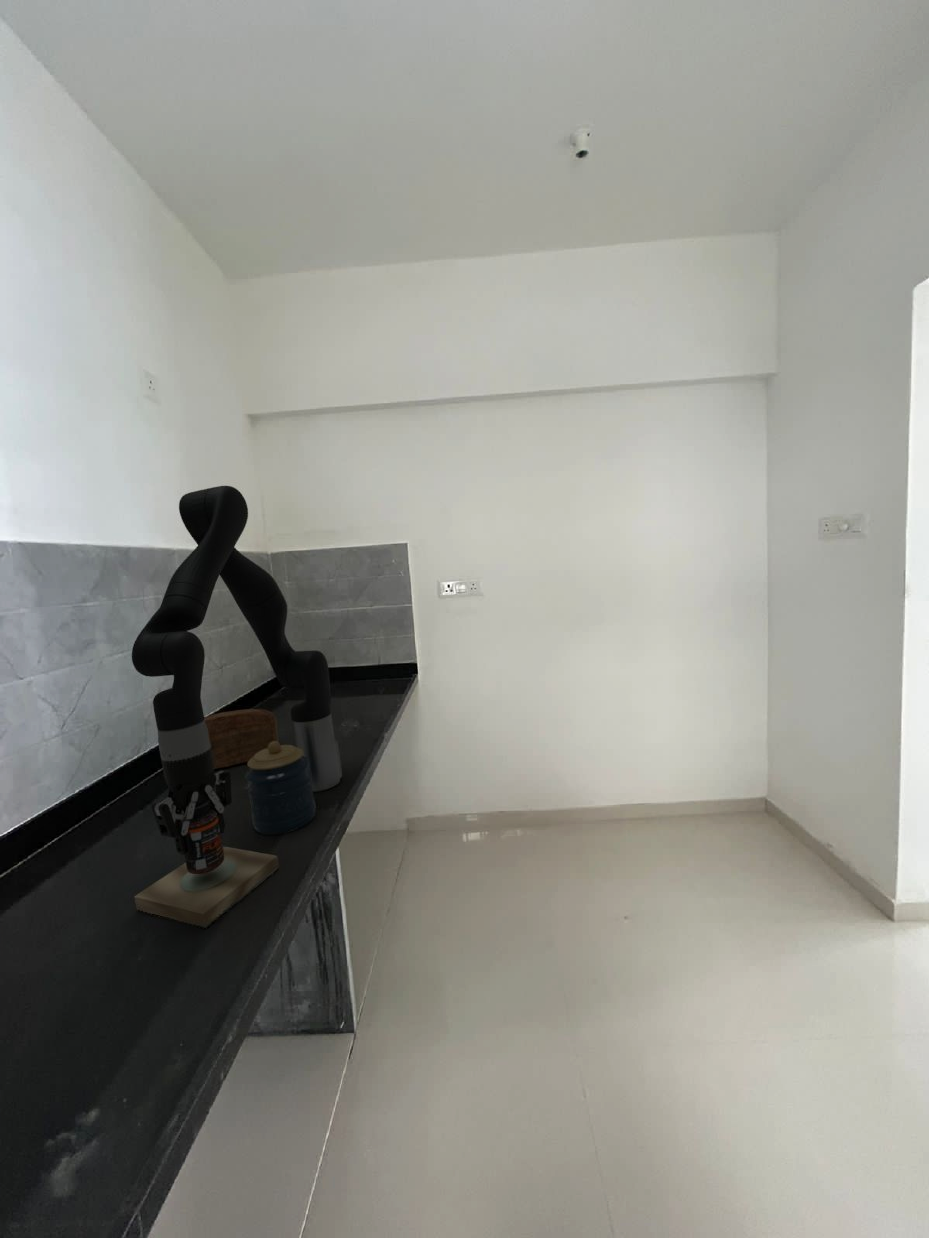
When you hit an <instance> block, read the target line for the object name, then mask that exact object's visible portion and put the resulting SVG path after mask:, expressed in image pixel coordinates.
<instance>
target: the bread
mask: <svg viewBox="0 0 929 1238" xmlns="http://www.w3.org/2000/svg"><path fill="white" fill-rule="evenodd" d="M204 720H205V723H206V726H207V729H208V733H209V738H210V744H211V750H212V756H213V761H214V767H215V769H222V768H225V767H227V768H228V767H231V766H235V765H238V764H242V763H243V764H244V763H248V761H249V760H250V759H251V758H252V757H254V755H255V754H256V753H258V752H259V751H261V750H264V749H266V748H268V745H269V743H270V742H272V741H277V742H279V740H278V727H277V726H278V720H277V717H276V716H275V715H274V713H272V712H271V711H270V710H267V709H264V708H247V709H237V710H228V711H222V712H217V713H214V714H210V715H208V716H204ZM215 769H214V770H215Z"/></svg>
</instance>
